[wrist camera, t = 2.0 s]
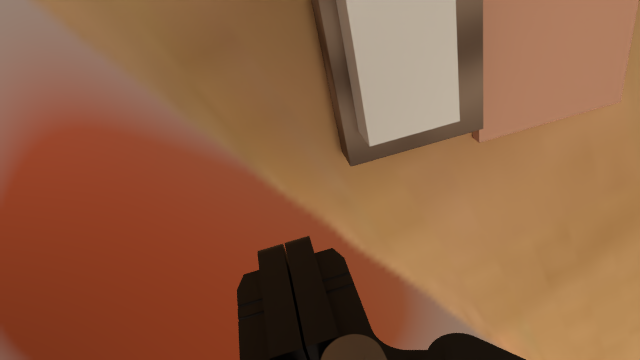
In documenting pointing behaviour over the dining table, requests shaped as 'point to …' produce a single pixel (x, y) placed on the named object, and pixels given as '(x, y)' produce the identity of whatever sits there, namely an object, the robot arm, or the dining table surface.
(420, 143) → the walnut deck
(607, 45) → the terracotta mat
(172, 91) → the dining table surface
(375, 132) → the cream tile
